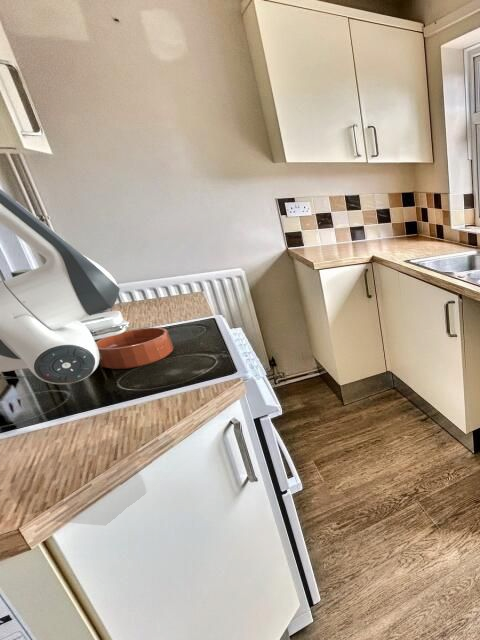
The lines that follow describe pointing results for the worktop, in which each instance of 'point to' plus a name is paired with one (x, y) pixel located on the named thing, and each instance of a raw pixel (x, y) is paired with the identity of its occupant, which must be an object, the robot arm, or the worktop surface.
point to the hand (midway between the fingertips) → (55, 325)
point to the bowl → (134, 348)
